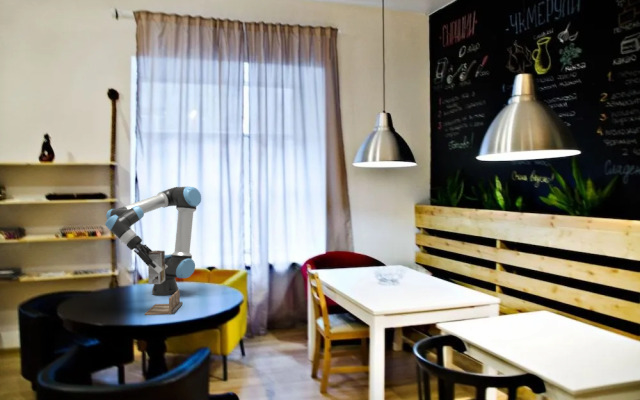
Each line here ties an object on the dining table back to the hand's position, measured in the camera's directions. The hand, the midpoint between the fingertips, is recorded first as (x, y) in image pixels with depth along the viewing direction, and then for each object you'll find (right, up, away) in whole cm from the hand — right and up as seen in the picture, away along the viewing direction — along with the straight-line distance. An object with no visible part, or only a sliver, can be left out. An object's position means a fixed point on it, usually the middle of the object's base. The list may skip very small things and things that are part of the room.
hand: (163, 270), depth 244 cm
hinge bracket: (0, -21, 0) cm, 21 cm away
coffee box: (-3, -7, 0) cm, 7 cm away
